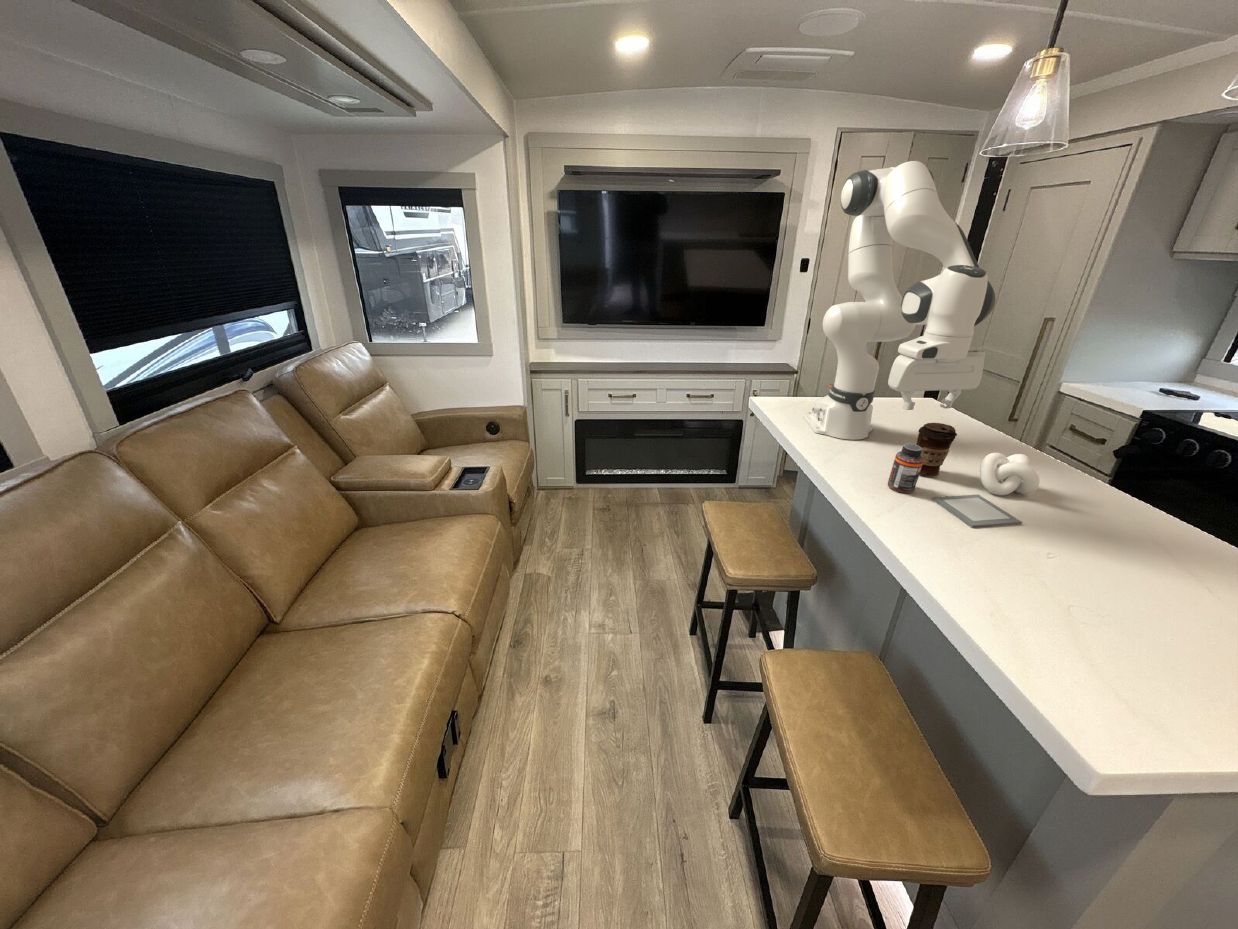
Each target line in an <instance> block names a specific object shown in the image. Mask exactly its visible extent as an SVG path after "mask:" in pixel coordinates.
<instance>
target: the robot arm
mask: <svg viewBox="0 0 1238 929" xmlns="http://www.w3.org/2000/svg"><path fill="white" fill-rule="evenodd" d="M840 206H841V209H842V211H843V213H844V214H845V215H848V216H851V217H852V216H854V217H855V218H854V219H853V221H852V224H851V229H850V233H849V240H848V251H847V252H848V254H847V257H848V259H847V262H848V263H847V264H848V265H847V281H848V284H849V285H850V286H851V288H852V289H854V290H855V291H857V292H858V293H859V294H860V295H861V296H862V297H863V299H864V301H848V302H842V303H838V304H834V305H832V306H830V307H829V308H828V309H827V310H826V312H825V314H824V316H823V320H822V330H823V331H822V332H823V334H824V335H825V336H826V338H827V339H829V341H831V343H832V344H833V346H834V348H835V350H836V353H837V354H836V356H837V367H836V373H835V377H834V378H835V379H834V383H833V384H829V387H828V388H829V392H828V394H827V395H825V396H823V397H822V398H820V399H817V400H815V401H814V402H813V405H812V409H811V411H810V412H805V413H803V414H802V418H803V419H804V420H805V422H806V423H807V424H808V425H809V427H810V428H811V429H812V431H814V433H816V434H821V435H826V436H830V437H833V438H836V439H841V440H863V439H867V437H869V433H871V432H872V430H873V427H872V426H871V423H872V415H873V409H874V407H873V405H872V403H873V401H874V398H875V393H876V391H875V386H876V382H877V378H878V374H879V370H880V365H879V362H878V360H877V359H876V358H875V357H873V356H872V355H871V354H869V353H868V351H867V349H868V344H869V343H877V342H878V343H880V342H881V343H882V342H885V343H886V342H887V343H889V342H894V341H898V340H902V339H906V338H908V337H909V336H910V335H911V334H912V333H913V332H914V330H915V327H916V326H926V328H925V330H924V332H923V335H922V336H919V337H916V338H914V339H911V340H909V341H905V342H902V343H900V344H899V346H898V347H897V348H898V349H897V352H898V354H899V355H898V356H897V357H896V358H895V359H894V362H893V363H892V366H891V368H890V372H889V375H888V380H887V384H888V386H889V388H890V389H892V390H894V391H896V392H899V393H901V396H902V399H903V403H902V409H903V410H905V411H912V410H914V407H915V405H916V402H915V401H913V400H912V397H913V396H914V394H915V392H929V391H931V392H932V391H948V393H947V395H946V397H945V398H942V399H941V400H940V403H939V407H940V408H942V409H952V406H953V403H954V402H955V400H956V399H957V398H959V396H961V393H962V390H975V389H977V387H979V385H980V384H981V380H982V378H983V372H984V366H985V365H984V364H985V358H986V353H987V352H986V351H985V349H984V348H982V346H971V344H972V341H973V338H974V334H975V330H974V329H975V326H978V325H979V324H981V323H982V322H983V321H984V320H986V318H988V317H989V315H990V314H992V311H993V309H994V307H995V305H996V293H995V290H994V288H993V285H992V284H991V283H990V281H989V276H988V273H987V271H986V270H984V269H983V268H981V267H980V266H979V263H978V261H977V259H976V257H975V255H974V254H975V253H974V252H973V250H972V248H971V245H970V242H969V241H968V239H967V236H966V235H965V232H964V231H963V229H962V228H961V226H960V225H959V224H958V223H957V222H956V221H954V220H953V219H952V218H951V217H950V215H949V214H948V213H947V211H946V210H945V209H944V207H943V204H942V203H941V201H940V199H939V194H938V191H937V187H936V184H935V178H934V175H933V172H932V171H931V170H930V169H928V168H927V166H926V165H925V163H923V162H921V161H918V160H910V161H906V162H903V163H900V164H899V165H897V166H891V167H886V168H876V169H871V170H868V169H863V170H862V169H861V170H860V171H856V172H853V173H851V174H850V175H849V176H848V178H847V179H846V180H845V182H844V183H843V186H842V189H841V194H840ZM893 241H894V242H896V243H897V244H899V245H901V246H904V247H907V248H911V249H915V250H918V251H921V252H924V253H927V254H930V255H932V256H933V257H935V258H937V260H939V261H940V263H941V264H942V266H943V268H944V269H943V271H942V272H941V273H940V274H938V275H936V276H934V277H931V278H928V279H925V280H921V281H916V282H914V283H913V284H912V285H910V287H908V288H907V290H906V291H905V292H904V294H903V296H902V294H901V293H900V291H899V289H898V287H897V285H896V283H895V278H894V270H893V268H894V267H893V263H894V262H893Z"/></svg>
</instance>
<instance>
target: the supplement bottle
mask: <svg viewBox="0 0 1238 929" xmlns="http://www.w3.org/2000/svg"><path fill="white" fill-rule="evenodd" d="M921 453H922V447H920V446H918V445H916V443H915V444H914V443H905V444H903V446H902V449H901V451H898V452H897V453H896V454H895V457H894V460H893V464H892V467H891V470H890V473H889V477H888V480H887V487H889V489H891V490H892V491H895V492H897V493H901V494H911V493H913V492H914V491H915V489H916V486H917V483H918V480H919V477H920V475H919V474H920V471H921V468H922V465H923V461H924V459H923V457H922V456H921V455H920V454H921Z"/></svg>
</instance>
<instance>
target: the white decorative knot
mask: <svg viewBox="0 0 1238 929" xmlns="http://www.w3.org/2000/svg"><path fill="white" fill-rule="evenodd" d="M979 475H980V476H979V477H980V481H981V483H982V485H983V487H984V488H985V490H986V491H988V492H989V493H990V494H992V495H996V496H1006V495H1007V496H1008V495H1010V494H1011V493H1013V492H1014V493H1017V494H1020V495H1028V494H1032V493H1034V492H1035V491H1037V489H1038V488H1039V485H1040V482H1041V481H1040V477H1039V474H1038V473H1037V471H1036V470H1035V469H1034V468H1033V467H1032V466H1031V459H1030V458H1029V457H1028V456H1027V455H1025V454H1024V453H1023V454H1021V453H1015V454H1012V455H1008V456H1006V455H1005V454H1003V453H999V452H992V453H989V454H987V455H986V456H984V458H983V459H982V461H981V463H980V466H979Z"/></svg>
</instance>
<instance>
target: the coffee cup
mask: <svg viewBox="0 0 1238 929" xmlns="http://www.w3.org/2000/svg"><path fill="white" fill-rule="evenodd" d="M917 432H918V435H917V439H916V443H915V445H918V446H920V447H922V453H921V454H920V455H921V456H922V457H923V459H924V461H923V465H922V468H921V471H920V474H919V476H921V477H922V476H923V477H927V478H937V477H938V476H940V470H941V466H942V465H943V464H944V463H945V462H944V461H945V460H946V459H947V456H948V454H949V452H950V447H951V445H952V443H953V442H954V440H955V439H956V437H957V436H958V434H957V432H956V428H955V427H953V426H952V425H950V424H945V423H940V422H927V423H925V424H923V426H921V427H920V428H919V429H918V431H917Z"/></svg>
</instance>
